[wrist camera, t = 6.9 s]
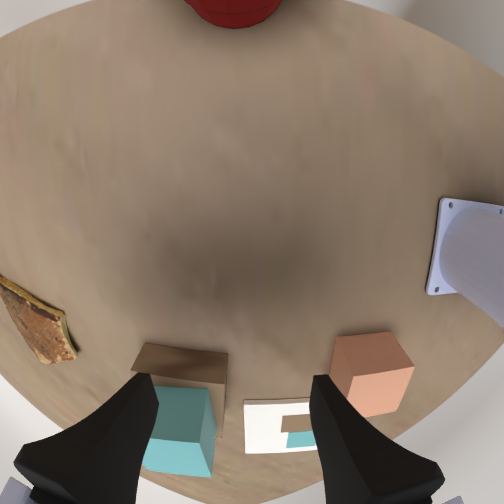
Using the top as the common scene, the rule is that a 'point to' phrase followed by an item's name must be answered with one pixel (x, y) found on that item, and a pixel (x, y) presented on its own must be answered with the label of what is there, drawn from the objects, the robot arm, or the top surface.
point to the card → (278, 426)
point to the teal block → (182, 433)
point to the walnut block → (187, 373)
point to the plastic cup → (234, 11)
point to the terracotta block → (371, 371)
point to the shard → (38, 324)
